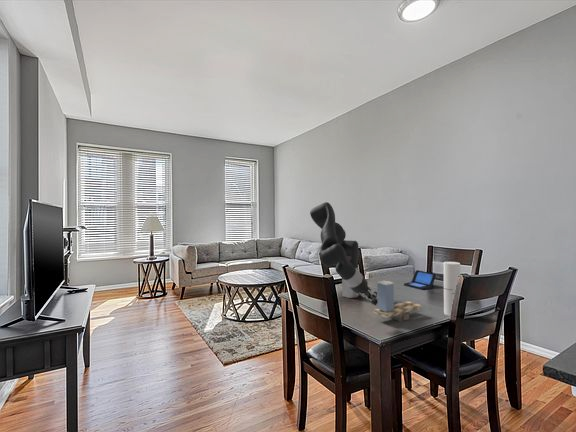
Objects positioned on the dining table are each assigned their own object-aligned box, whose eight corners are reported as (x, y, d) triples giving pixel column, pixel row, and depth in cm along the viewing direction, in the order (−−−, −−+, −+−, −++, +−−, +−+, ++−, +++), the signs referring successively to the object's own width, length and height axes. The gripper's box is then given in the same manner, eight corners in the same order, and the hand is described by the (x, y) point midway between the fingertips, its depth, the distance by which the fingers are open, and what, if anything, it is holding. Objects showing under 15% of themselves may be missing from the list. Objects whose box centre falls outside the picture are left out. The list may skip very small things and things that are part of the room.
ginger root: (386, 325, 134) (386, 314, 134) (373, 320, 141) (372, 309, 141) (421, 315, 146) (421, 305, 146) (407, 310, 153) (407, 300, 153)
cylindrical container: (445, 310, 153) (445, 261, 152) (461, 313, 148) (461, 262, 148) (442, 314, 147) (441, 263, 147) (459, 317, 143) (458, 264, 142)
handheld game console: (402, 285, 205) (402, 272, 205) (416, 283, 212) (416, 269, 212) (423, 290, 192) (422, 276, 192) (436, 287, 198) (436, 273, 198)
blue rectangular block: (386, 315, 136) (385, 284, 136) (377, 312, 141) (377, 281, 141) (394, 313, 139) (393, 282, 139) (385, 310, 143) (384, 280, 143)
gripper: (339, 283, 135) (360, 306, 141) (361, 290, 123) (382, 314, 130) (348, 270, 137) (369, 293, 144) (370, 275, 126) (391, 300, 132)
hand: (375, 303), depth 137 cm, fingers closed
